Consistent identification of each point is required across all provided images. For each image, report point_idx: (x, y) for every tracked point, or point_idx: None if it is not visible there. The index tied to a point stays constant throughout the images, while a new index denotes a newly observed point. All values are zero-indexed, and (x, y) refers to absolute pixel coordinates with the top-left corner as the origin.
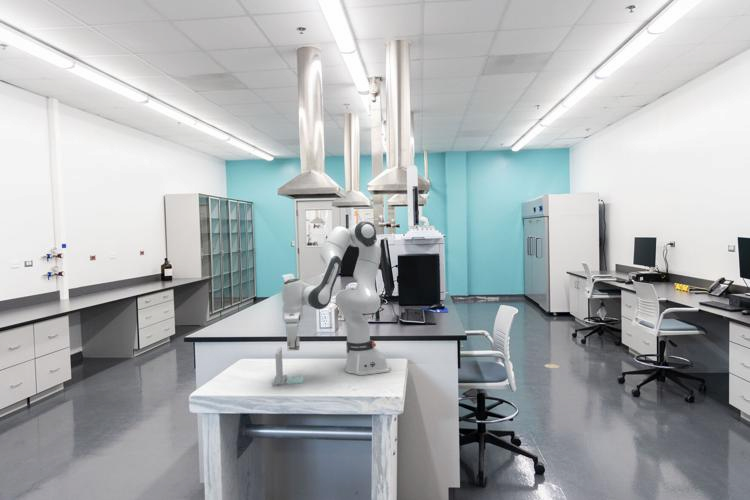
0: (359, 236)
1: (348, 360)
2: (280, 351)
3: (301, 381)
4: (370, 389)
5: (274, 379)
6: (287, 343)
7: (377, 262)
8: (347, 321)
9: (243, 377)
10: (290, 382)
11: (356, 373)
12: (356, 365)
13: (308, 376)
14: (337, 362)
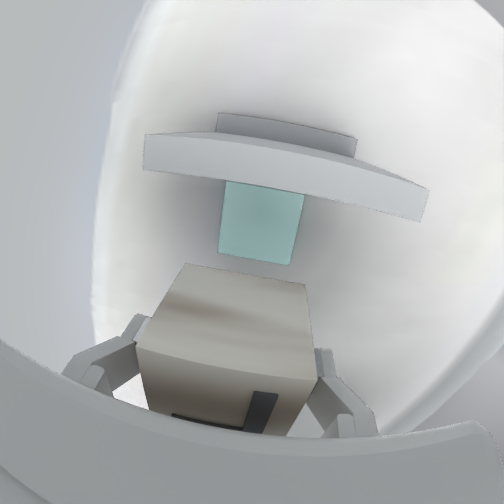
0: None
1: (293, 426)
2: (293, 189)
3: (222, 248)
4: (134, 389)
5: (293, 124)
6: (157, 311)
7: None
8: None
9: (402, 13)
10: (224, 199)
11: None
12: None
13: (308, 284)
14: (406, 379)
